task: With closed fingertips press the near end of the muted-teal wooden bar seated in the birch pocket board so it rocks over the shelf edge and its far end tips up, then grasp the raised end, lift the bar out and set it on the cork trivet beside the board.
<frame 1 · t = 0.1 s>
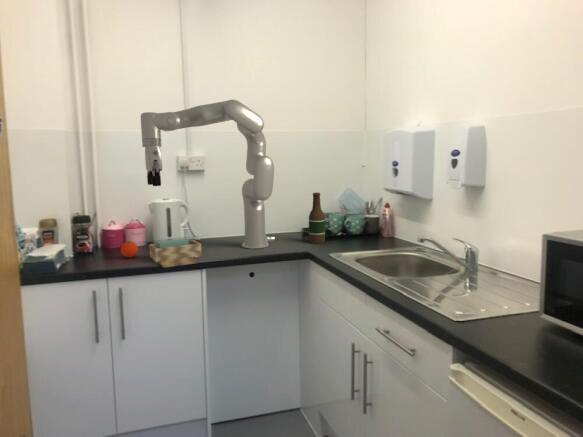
hand: (154, 185, 193), 31 cm above the worktop, tool pointing down, fingers open, 9 cm apart
pocket board: (173, 257, 199), on the worktop
clementine: (130, 257, 201), on the worktop
beer bottle: (317, 242, 226), on the worktop
cork trivet: (178, 262, 189), on the worktop
teal block: (173, 247, 199), point 4 cm above the worktop, touching pocket board
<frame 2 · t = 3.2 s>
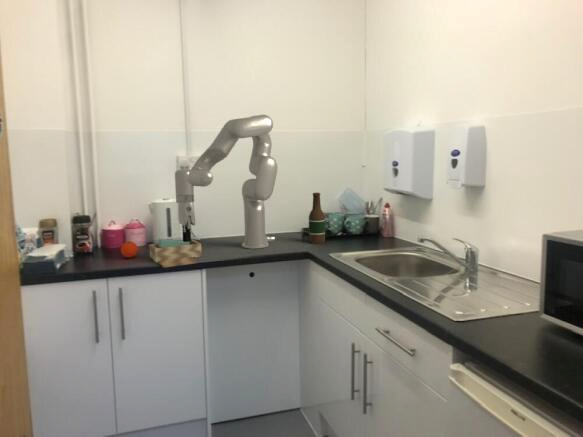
hand: (187, 241, 201), 6 cm above the worktop, tool pointing down, fingers closed
teal block: (173, 247, 199), point 4 cm above the worktop, tilted 11°, touching gripper, pocket board
everything else where it was.
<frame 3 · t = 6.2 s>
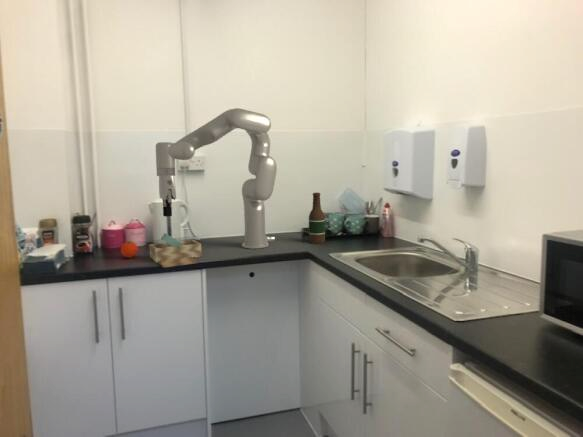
hand: (167, 216, 196), 18 cm above the worktop, tool pointing down, fingers closed
teal block: (173, 246, 199), point 4 cm above the worktop, tilted 37°, touching pocket board
everything else where it was.
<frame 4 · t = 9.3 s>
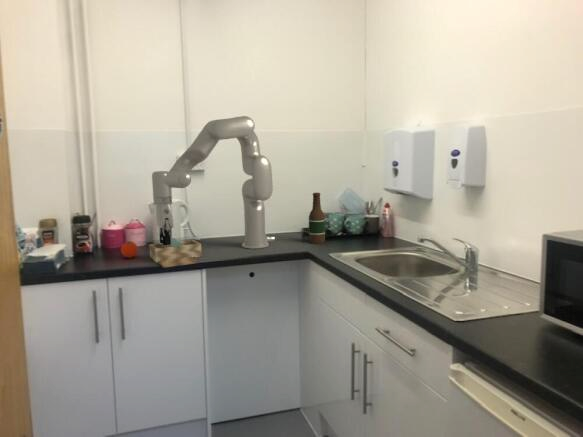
hand: (165, 243, 197), 6 cm above the worktop, tool pointing down, fingers closed on teal block, 4 cm apart
teal block: (173, 246, 199), point 4 cm above the worktop, tilted 37°, touching gripper, pocket board
everything else where it was.
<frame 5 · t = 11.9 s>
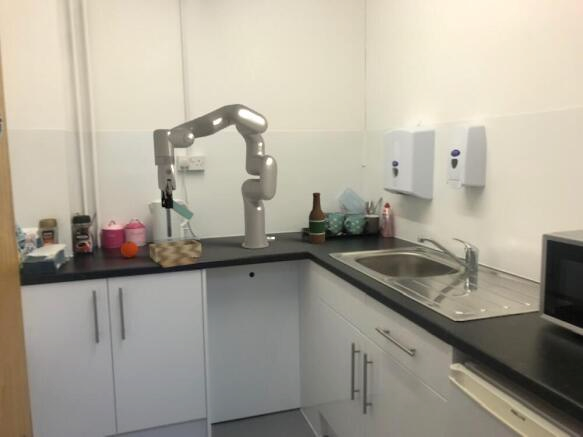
hand: (167, 207, 184), 23 cm above the worktop, tool pointing down, fingers closed on teal block, 4 cm apart
teal block: (176, 211, 186), point 21 cm above the worktop, tilted 37°, touching gripper
everything else where it was.
when the fingers open (9 cm above the worktop, at t = 14.7 s): teal block drops 7 cm, resting on cork trivet.
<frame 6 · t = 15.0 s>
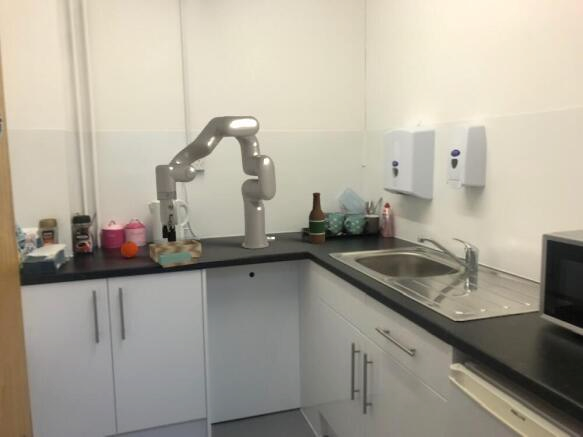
hand: (169, 239, 186), 10 cm above the worktop, tool pointing down, fingers open, 8 cm apart
teal block: (174, 261, 188), point 1 cm above the worktop, touching cork trivet
everything else where it was.
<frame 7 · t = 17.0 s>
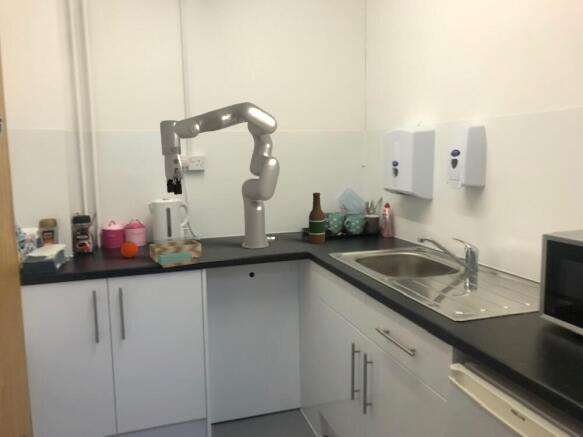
hand: (174, 193, 191), 28 cm above the worktop, tool pointing down, fingers open, 9 cm apart
nothing on the worktop moved.
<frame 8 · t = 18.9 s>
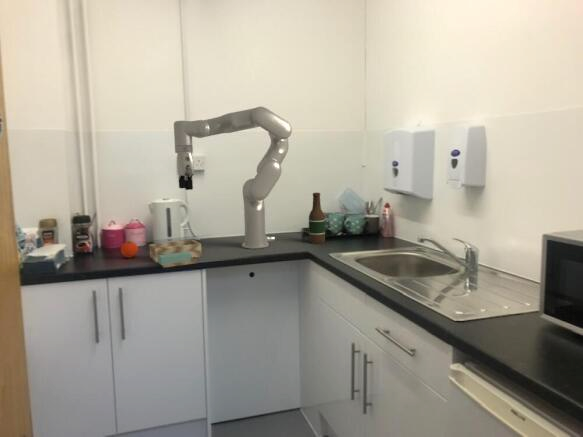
hand: (185, 188, 206), 28 cm above the worktop, tool pointing down, fingers open, 9 cm apart
nothing on the worktop moved.
at the end: teal block inside the target area on the cork trivet (1.6 cm from its centre), point 0.8 cm above the cork trivet's base; the gripper is holding nothing; teal block moved 12.8 cm from its start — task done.
